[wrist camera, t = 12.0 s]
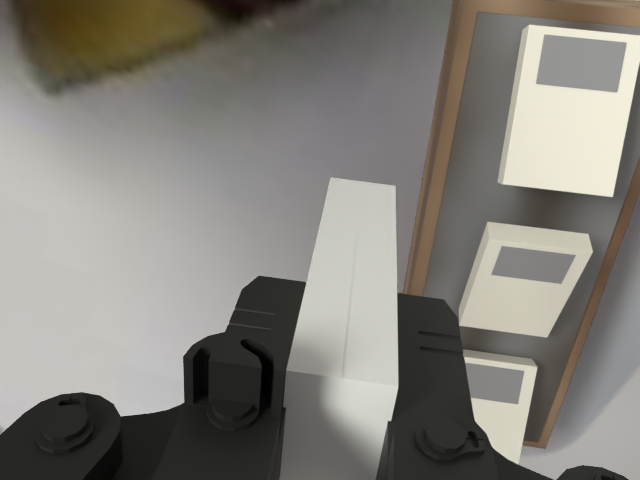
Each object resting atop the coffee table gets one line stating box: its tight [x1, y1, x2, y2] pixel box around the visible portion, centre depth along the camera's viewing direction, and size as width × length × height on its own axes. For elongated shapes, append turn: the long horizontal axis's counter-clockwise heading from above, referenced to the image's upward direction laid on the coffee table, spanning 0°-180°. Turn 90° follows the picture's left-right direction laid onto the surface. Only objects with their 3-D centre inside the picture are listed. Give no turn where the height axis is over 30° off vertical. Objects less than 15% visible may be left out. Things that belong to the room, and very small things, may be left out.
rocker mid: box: [459, 222, 593, 338], centre depth 36 cm, size 6×8×1 cm
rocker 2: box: [497, 25, 640, 197], centre depth 31 cm, size 6×8×2 cm
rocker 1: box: [463, 349, 537, 464], centre depth 41 cm, size 6×8×1 cm
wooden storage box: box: [403, 0, 640, 449], centre depth 40 cm, size 12×31×7 cm, turn 176°
